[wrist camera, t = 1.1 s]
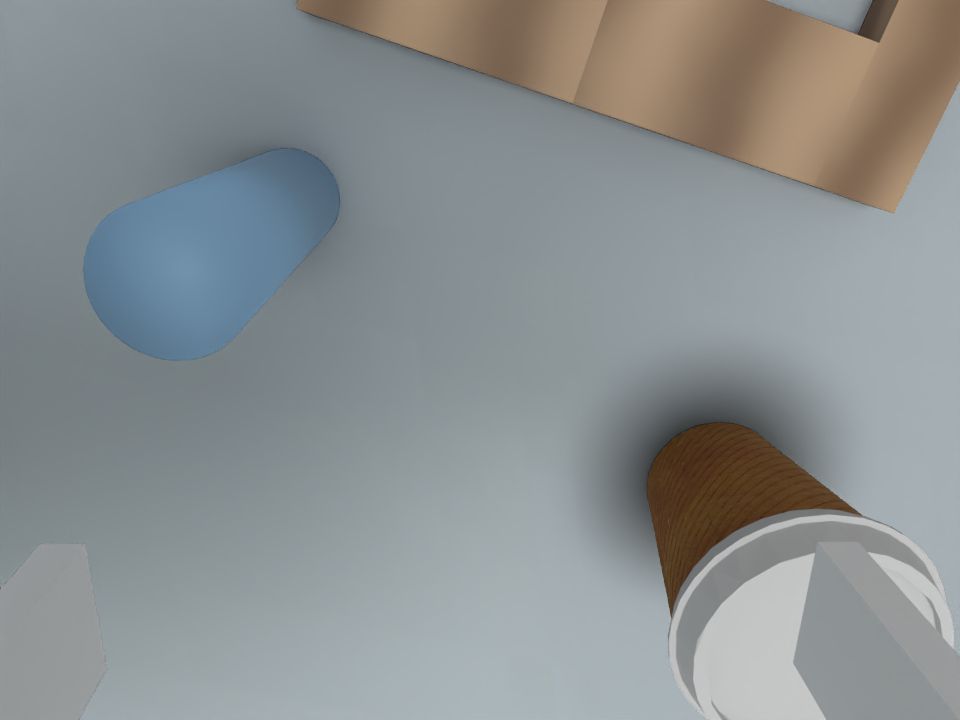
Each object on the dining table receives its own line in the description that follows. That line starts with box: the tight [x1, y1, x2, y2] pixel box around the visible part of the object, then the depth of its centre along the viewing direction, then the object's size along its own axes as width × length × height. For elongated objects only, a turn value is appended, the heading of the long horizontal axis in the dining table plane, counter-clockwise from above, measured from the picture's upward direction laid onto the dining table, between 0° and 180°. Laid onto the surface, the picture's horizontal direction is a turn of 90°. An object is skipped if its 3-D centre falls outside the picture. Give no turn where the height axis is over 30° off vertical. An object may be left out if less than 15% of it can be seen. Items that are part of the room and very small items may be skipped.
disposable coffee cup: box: [647, 423, 954, 720], centre depth 31 cm, size 10×10×12 cm
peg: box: [83, 148, 340, 361], centre depth 25 cm, size 4×4×14 cm
